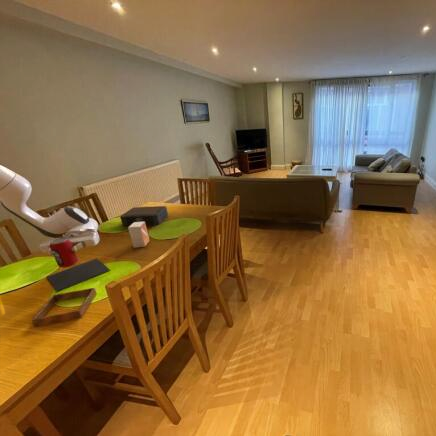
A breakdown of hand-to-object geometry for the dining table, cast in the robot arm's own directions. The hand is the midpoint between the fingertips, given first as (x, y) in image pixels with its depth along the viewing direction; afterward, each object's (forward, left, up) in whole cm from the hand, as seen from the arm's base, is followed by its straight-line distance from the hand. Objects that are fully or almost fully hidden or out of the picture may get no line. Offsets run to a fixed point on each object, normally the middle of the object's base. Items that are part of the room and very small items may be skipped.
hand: (62, 251), depth 103 cm
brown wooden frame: (-7, -18, -17) cm, 25 cm away
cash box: (+54, +51, -17) cm, 77 cm away
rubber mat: (+3, +8, -17) cm, 19 cm away
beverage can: (+1, +1, -7) cm, 7 cm away
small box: (+35, +15, -17) cm, 42 cm away
